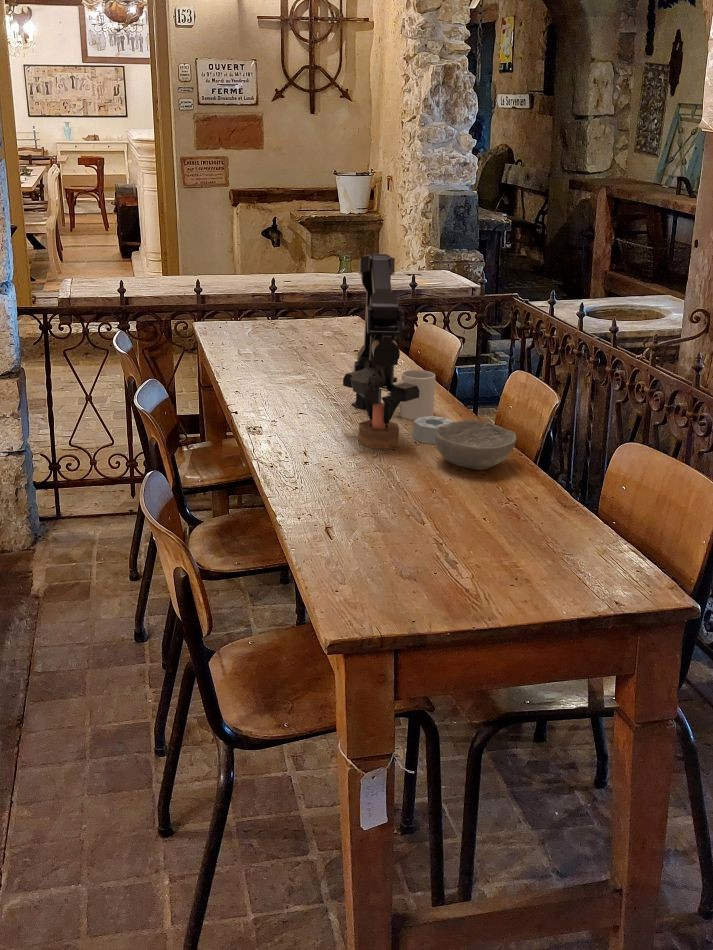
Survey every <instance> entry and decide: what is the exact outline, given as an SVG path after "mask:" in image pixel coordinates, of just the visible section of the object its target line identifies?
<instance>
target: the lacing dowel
mask: <svg viewBox="0 0 713 950" xmlns="http://www.w3.org/2000/svg"><path fill="white" fill-rule="evenodd" d="M372 428H376V429H384V428H385V424H384V404H373V417H372Z"/></svg>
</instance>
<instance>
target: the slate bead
mask: <svg viewBox="0 0 713 950" xmlns="http://www.w3.org/2000/svg"><path fill="white" fill-rule="evenodd" d="M453 422H454V421H453V420H451V419H449V418H447V417H441V416H434V415H433V416H427V417H419V418H417V419H416V420H413V429H412V439H413V440H416V441H417V442H419V443H422V444H428V445H435V446H436V441H435V434H436V429H437V428H438V427H440V426H444V425H446V424H450V423H453Z"/></svg>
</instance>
